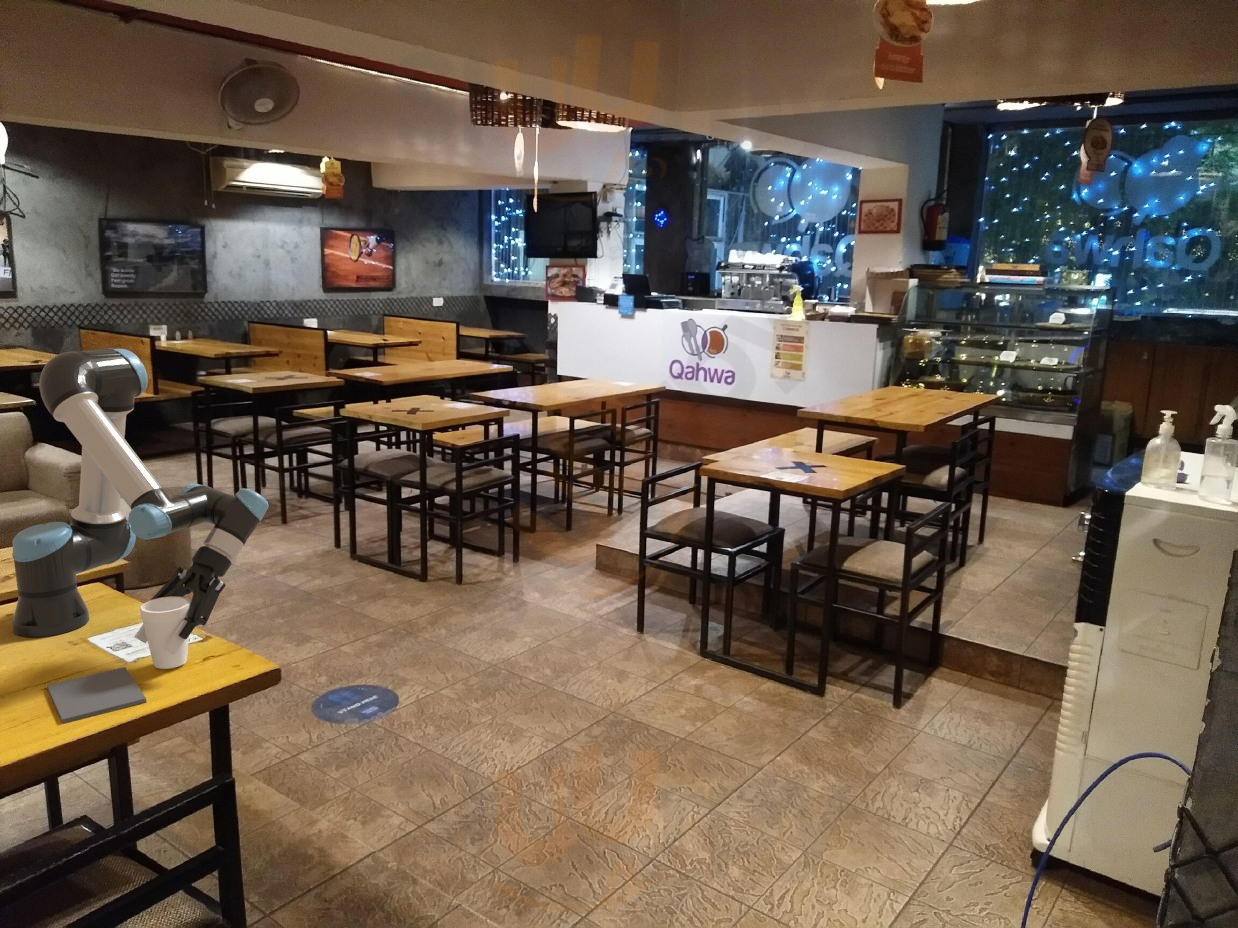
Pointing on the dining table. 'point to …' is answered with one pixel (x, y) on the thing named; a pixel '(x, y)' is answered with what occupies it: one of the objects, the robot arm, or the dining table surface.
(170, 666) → the foam cup
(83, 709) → the rubber mat
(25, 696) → the dining table surface
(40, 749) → the dining table surface
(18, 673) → the dining table surface
